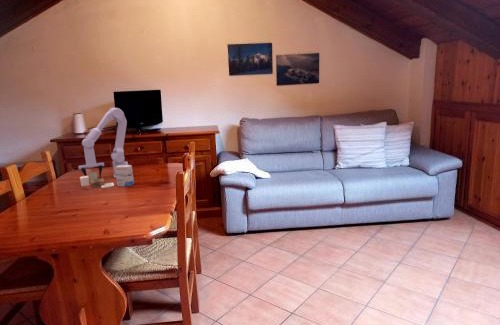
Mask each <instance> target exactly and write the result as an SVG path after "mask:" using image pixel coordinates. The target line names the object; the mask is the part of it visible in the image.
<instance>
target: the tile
mask: <svg viewBox="0 0 500 325" xmlns="http://www.w3.org/2000/svg"><path fill="white" fill-rule="evenodd" d="M104 184H105V185H103V186H101V187H100V188H101V189H107V188H111V187H112V188H113V187H115V184H114V182H107V183H104Z"/></svg>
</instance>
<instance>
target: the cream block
mask: <svg viewBox="0 0 500 325" xmlns="http://www.w3.org/2000/svg"><path fill="white" fill-rule="evenodd" d="M79 180H80V186H81V187H86V186H90V184H91V182H90V177H89V175H87V176H85V175H82V176H80V177H79Z"/></svg>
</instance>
